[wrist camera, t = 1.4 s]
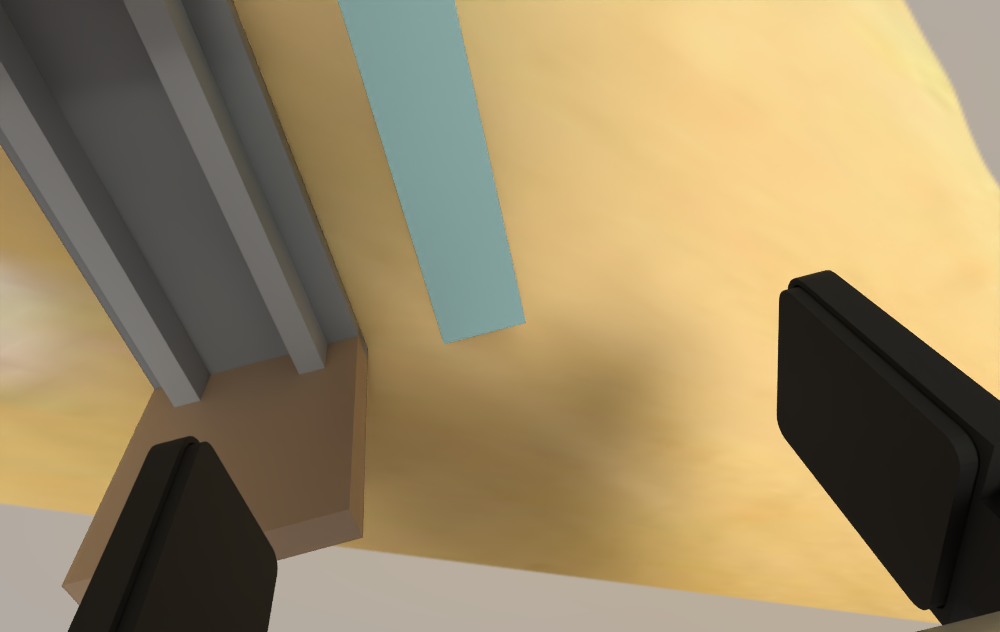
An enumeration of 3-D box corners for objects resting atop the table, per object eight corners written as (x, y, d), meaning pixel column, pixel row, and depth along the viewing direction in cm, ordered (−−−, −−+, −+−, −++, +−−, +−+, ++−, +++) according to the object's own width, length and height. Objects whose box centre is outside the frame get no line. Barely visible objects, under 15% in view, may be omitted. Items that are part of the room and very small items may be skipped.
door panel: (341, -45, 25) (325, -26, 17) (425, -66, 25) (445, -56, 17) (426, 239, 31) (441, 345, 24) (491, 222, 31) (528, 321, 24)
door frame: (-139, -109, 22) (-598, -130, 11) (162, -181, 22) (-27, -265, 12) (174, 399, 33) (85, 611, 23) (367, 349, 34) (362, 537, 23)
